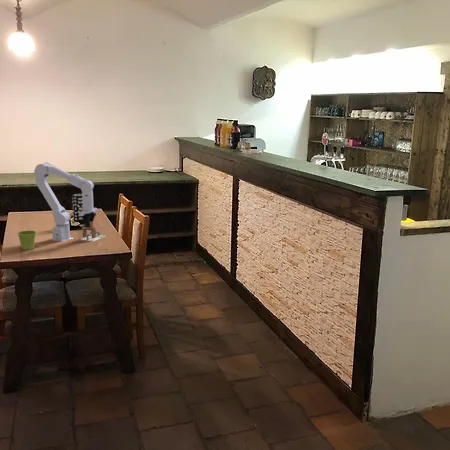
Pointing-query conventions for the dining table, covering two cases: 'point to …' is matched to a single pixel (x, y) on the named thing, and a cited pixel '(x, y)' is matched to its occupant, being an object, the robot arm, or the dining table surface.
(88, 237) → the buzz wire board
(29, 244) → the plant pot
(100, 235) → the end pad
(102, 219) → the dining table surface
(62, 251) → the dining table surface
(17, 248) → the dining table surface
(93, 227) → the stepped wooden block
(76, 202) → the white-spotted black cylinder
